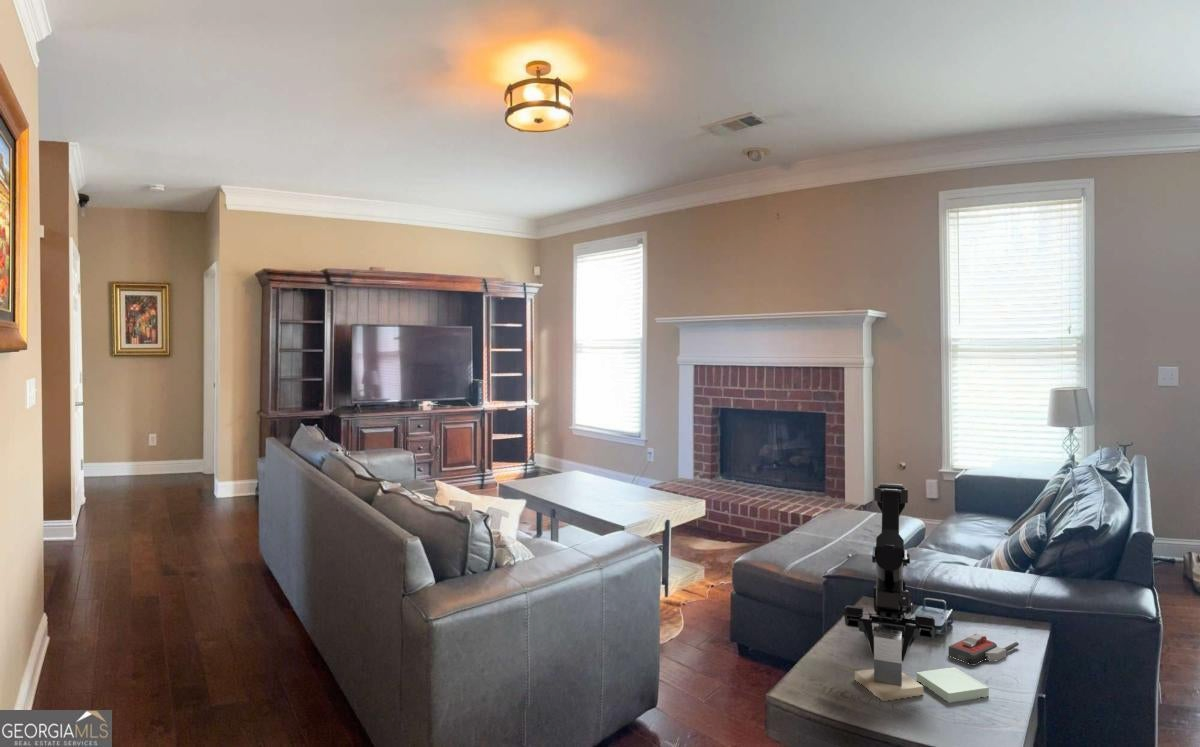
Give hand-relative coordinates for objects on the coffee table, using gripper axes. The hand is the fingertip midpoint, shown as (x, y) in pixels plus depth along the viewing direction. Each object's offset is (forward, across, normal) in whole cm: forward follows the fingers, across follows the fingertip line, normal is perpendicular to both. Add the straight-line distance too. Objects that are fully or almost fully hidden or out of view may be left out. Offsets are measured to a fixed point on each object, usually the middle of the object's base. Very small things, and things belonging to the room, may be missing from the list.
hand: (887, 658), depth 149 cm
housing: (+3, 0, +5) cm, 5 cm away
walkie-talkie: (-15, +21, +26) cm, 37 cm away
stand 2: (+1, +13, +9) cm, 16 cm away
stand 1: (+4, 0, +6) cm, 7 cm away
